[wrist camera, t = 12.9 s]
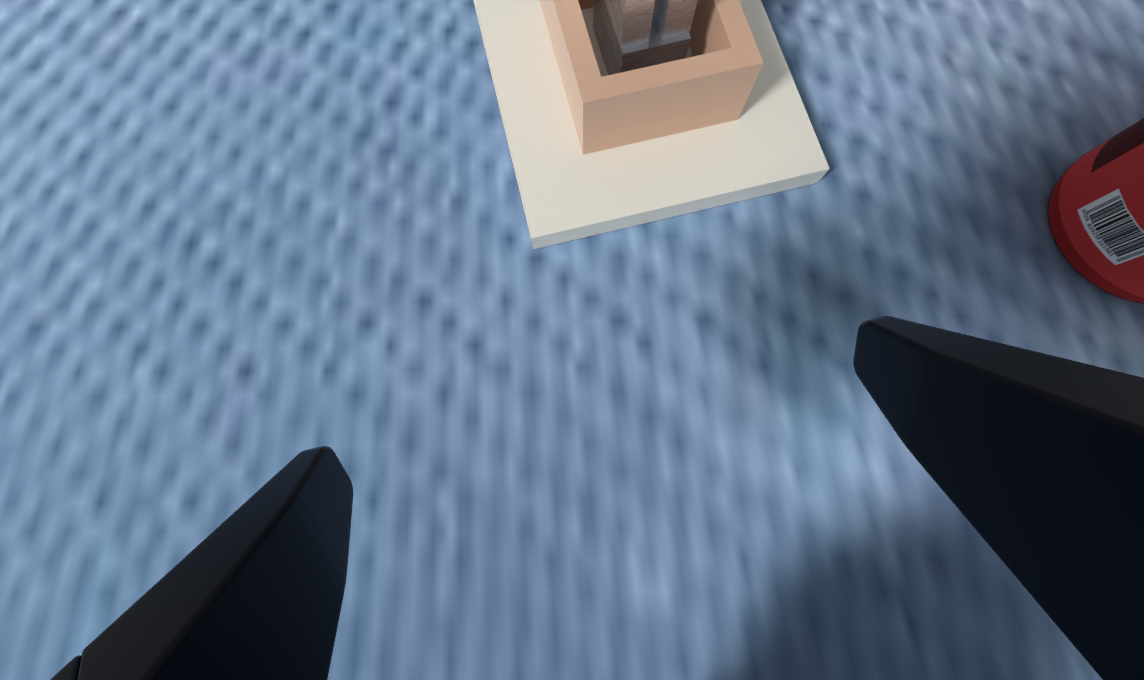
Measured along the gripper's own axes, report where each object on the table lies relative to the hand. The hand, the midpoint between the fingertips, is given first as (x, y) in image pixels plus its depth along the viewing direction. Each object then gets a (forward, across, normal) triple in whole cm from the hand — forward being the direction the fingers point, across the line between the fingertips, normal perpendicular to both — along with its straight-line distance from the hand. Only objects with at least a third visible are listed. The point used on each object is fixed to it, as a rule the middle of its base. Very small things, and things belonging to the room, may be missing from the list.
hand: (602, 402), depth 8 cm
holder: (+22, -6, -3) cm, 23 cm away
